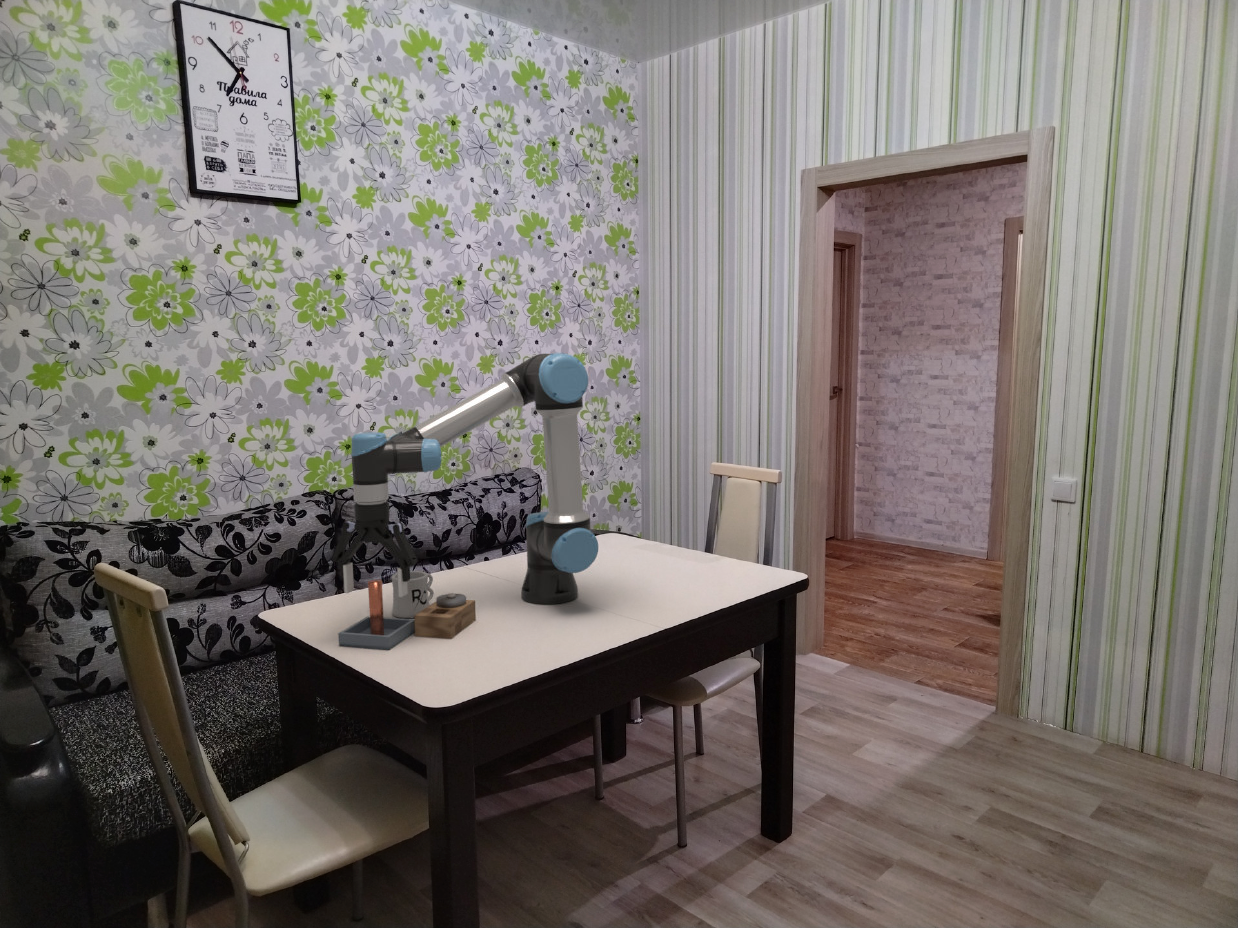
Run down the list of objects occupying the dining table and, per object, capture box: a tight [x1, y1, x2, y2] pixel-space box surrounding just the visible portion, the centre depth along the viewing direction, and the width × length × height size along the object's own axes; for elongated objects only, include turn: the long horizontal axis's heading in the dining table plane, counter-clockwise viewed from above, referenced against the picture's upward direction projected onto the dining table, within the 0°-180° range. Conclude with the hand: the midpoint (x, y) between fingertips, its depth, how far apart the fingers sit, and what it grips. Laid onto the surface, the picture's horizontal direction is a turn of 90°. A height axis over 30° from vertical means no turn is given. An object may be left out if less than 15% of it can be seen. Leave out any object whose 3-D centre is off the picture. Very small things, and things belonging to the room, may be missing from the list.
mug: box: [390, 570, 435, 619], centre depth 209 cm, size 12×9×10 cm
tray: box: [337, 615, 415, 651], centre depth 190 cm, size 12×12×3 cm
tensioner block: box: [414, 592, 477, 640], centre depth 197 cm, size 9×14×7 cm, turn 167°
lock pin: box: [367, 578, 385, 635], centre depth 189 cm, size 3×3×13 cm
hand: (376, 593), depth 189 cm, fingers open, 13 cm apart
